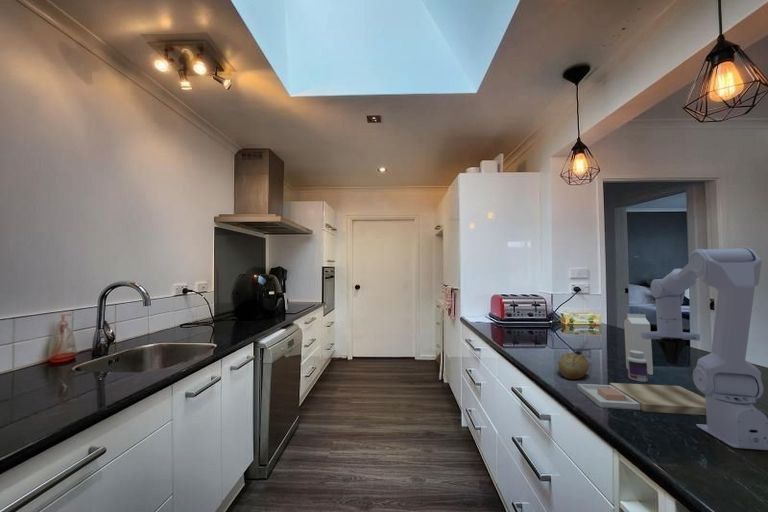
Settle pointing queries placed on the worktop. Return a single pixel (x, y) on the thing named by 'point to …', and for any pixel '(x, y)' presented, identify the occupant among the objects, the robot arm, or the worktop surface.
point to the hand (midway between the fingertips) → (671, 363)
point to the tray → (592, 393)
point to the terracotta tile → (611, 394)
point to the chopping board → (664, 398)
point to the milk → (638, 338)
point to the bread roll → (573, 365)
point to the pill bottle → (637, 366)
